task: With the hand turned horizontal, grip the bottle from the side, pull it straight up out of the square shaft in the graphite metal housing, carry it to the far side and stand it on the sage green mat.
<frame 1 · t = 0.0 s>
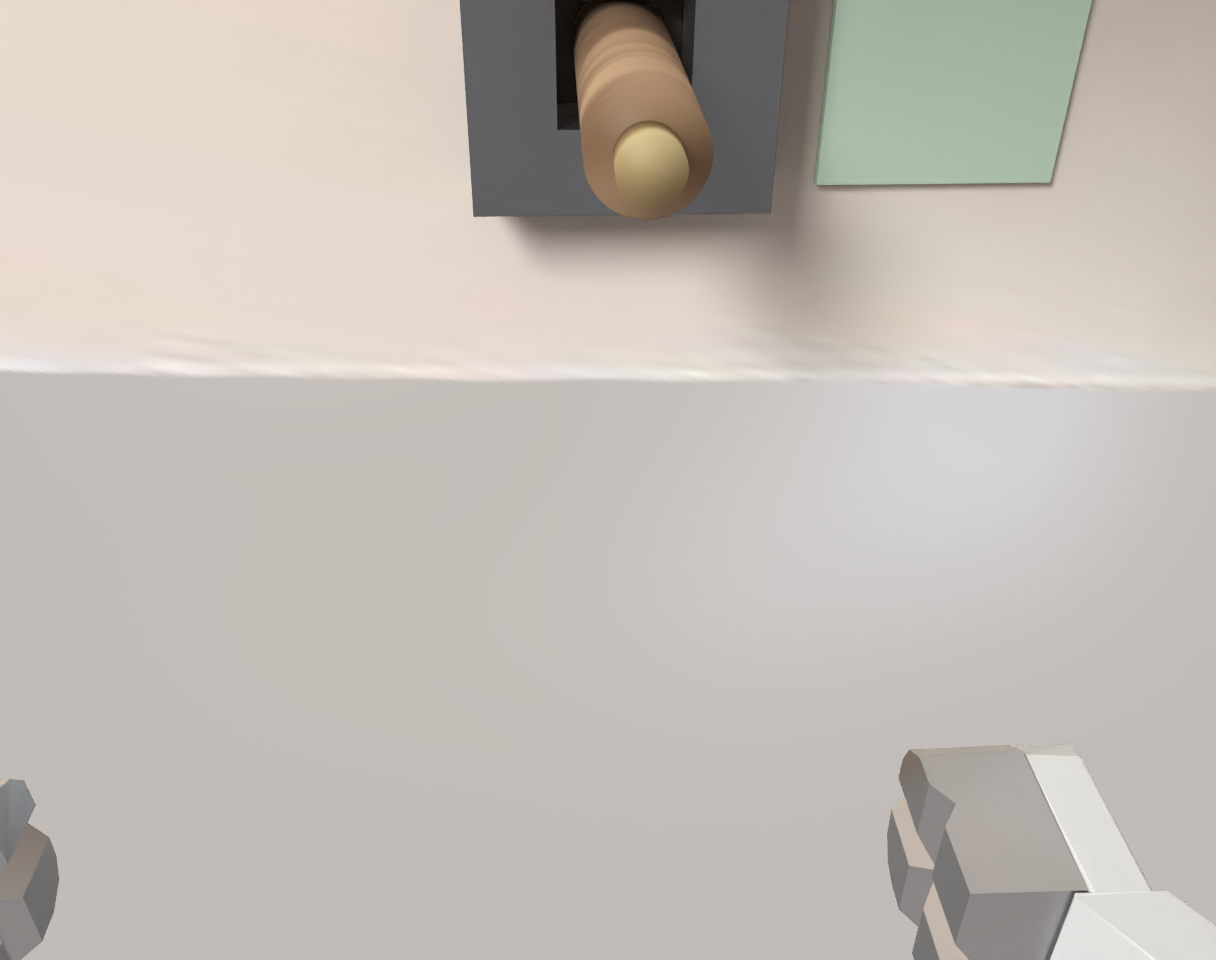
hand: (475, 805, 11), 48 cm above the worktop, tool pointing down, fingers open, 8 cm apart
mat: (954, 35, 53), on the worktop
housing: (619, 37, 52), on the worktop
bottle: (632, 92, 44), in the housing
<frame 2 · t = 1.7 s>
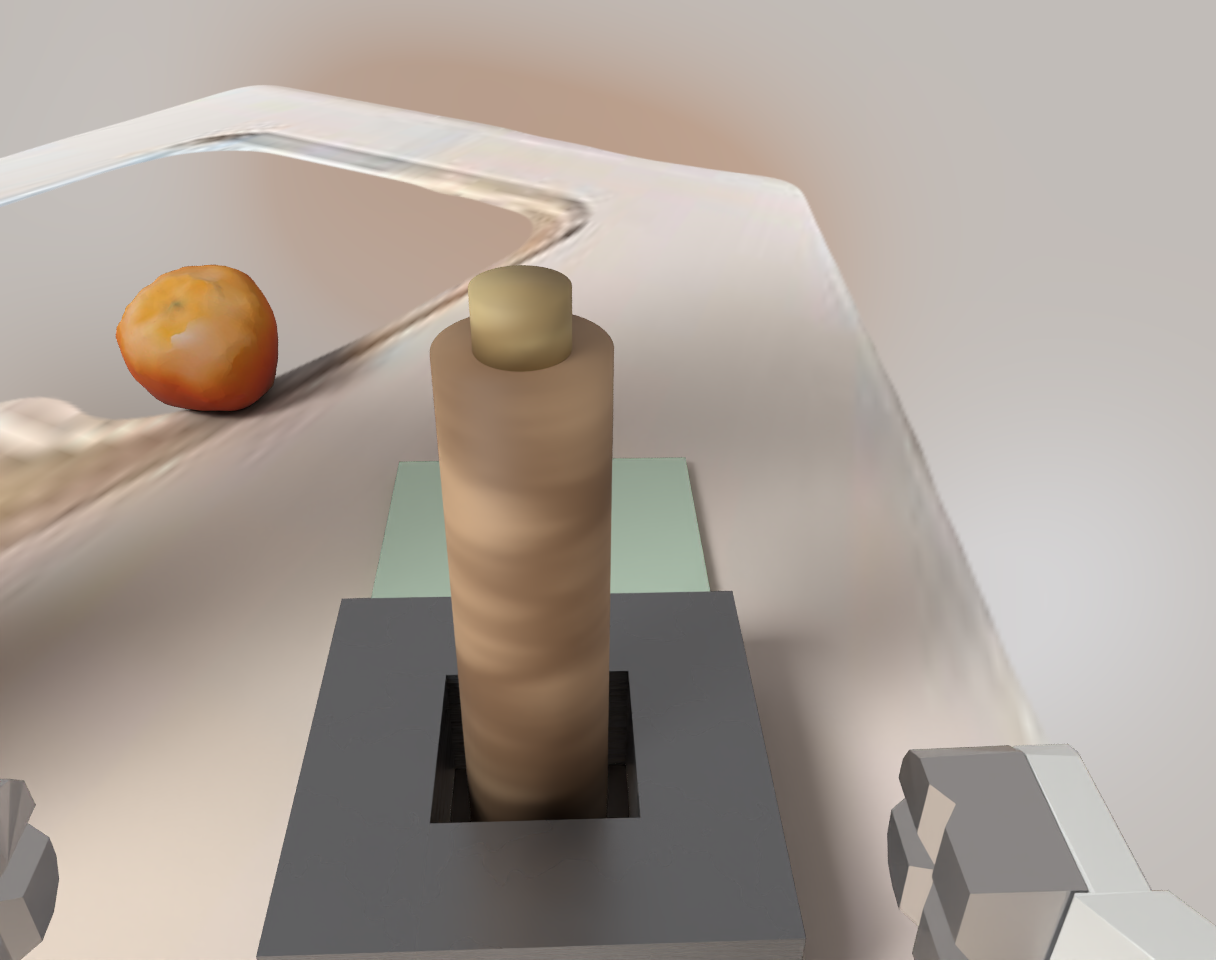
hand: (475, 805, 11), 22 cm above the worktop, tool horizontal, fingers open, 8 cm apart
mat: (542, 543, 50), on the worktop
housing: (540, 836, 37), on the worktop
bottle: (531, 609, 31), in the housing
fruit: (214, 398, 61), on the worktop
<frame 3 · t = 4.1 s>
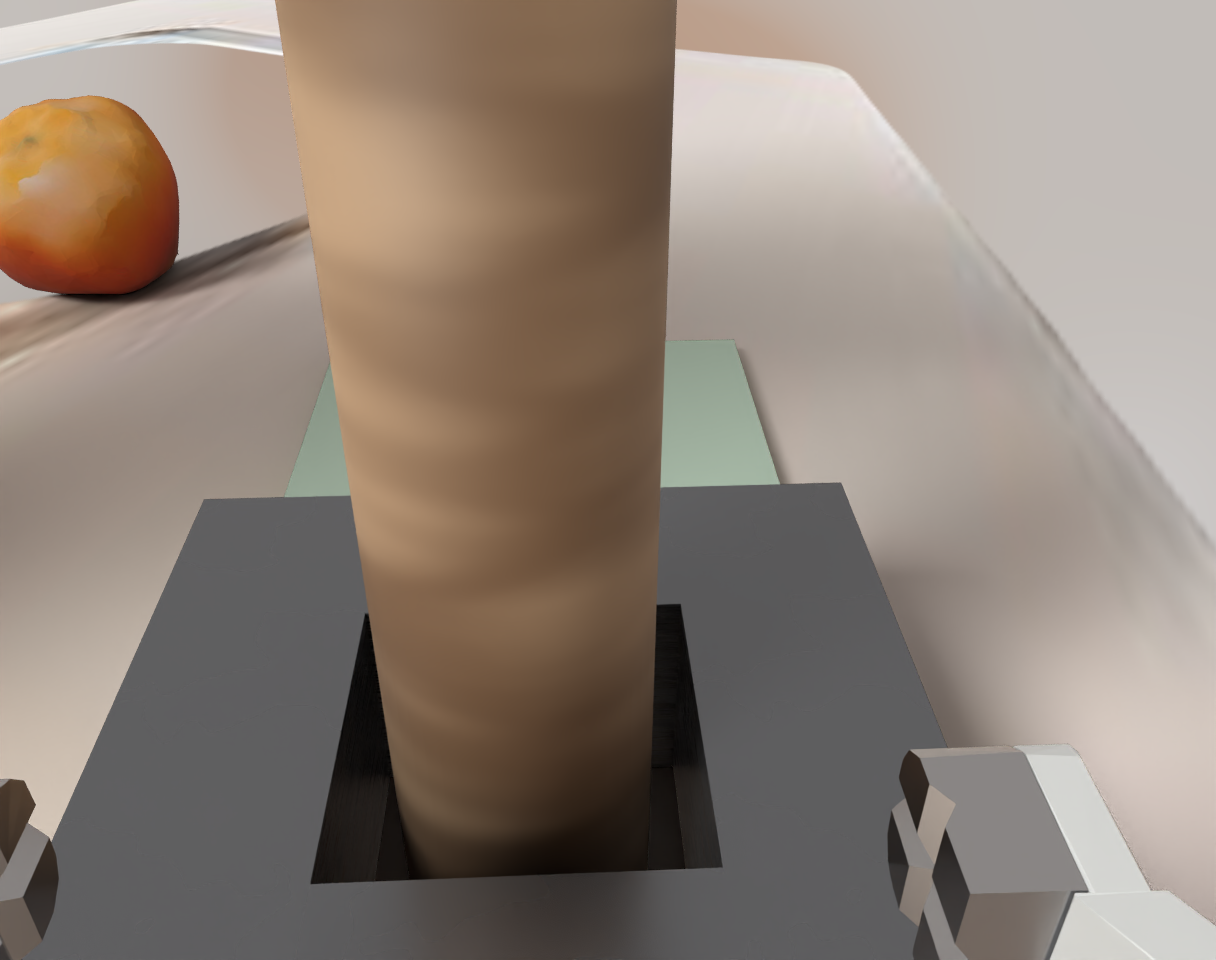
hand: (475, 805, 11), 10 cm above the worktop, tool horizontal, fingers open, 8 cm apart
mat: (535, 448, 35), on the worktop
housing: (531, 892, 21), on the worktop
bottle: (506, 459, 16), in the housing
fruit: (96, 283, 46), on the worktop
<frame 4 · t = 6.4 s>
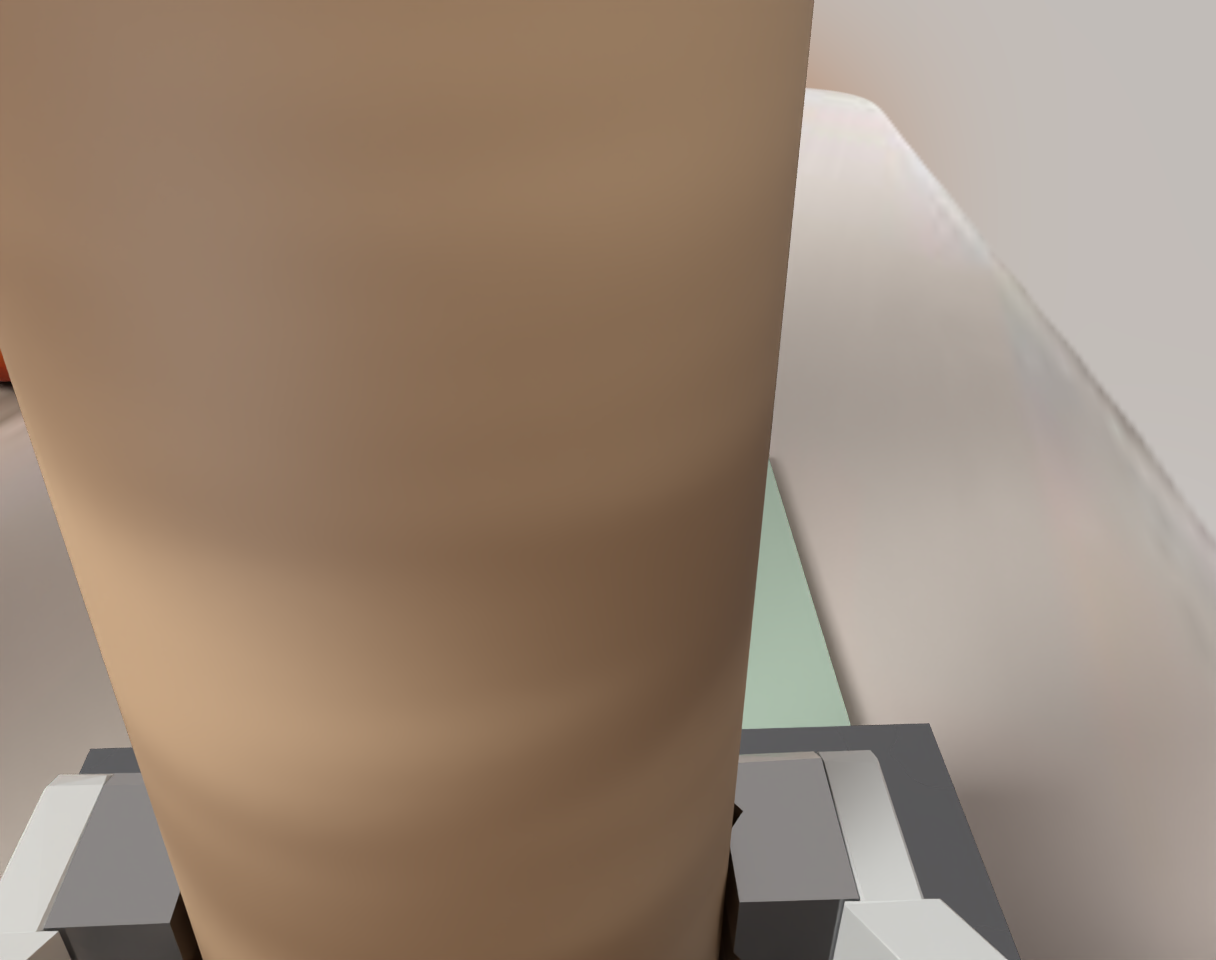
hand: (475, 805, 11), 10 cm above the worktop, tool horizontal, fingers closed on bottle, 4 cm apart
mat: (531, 598, 29), on the worktop
bottle: (473, 902, 10), in the housing, touching gripper
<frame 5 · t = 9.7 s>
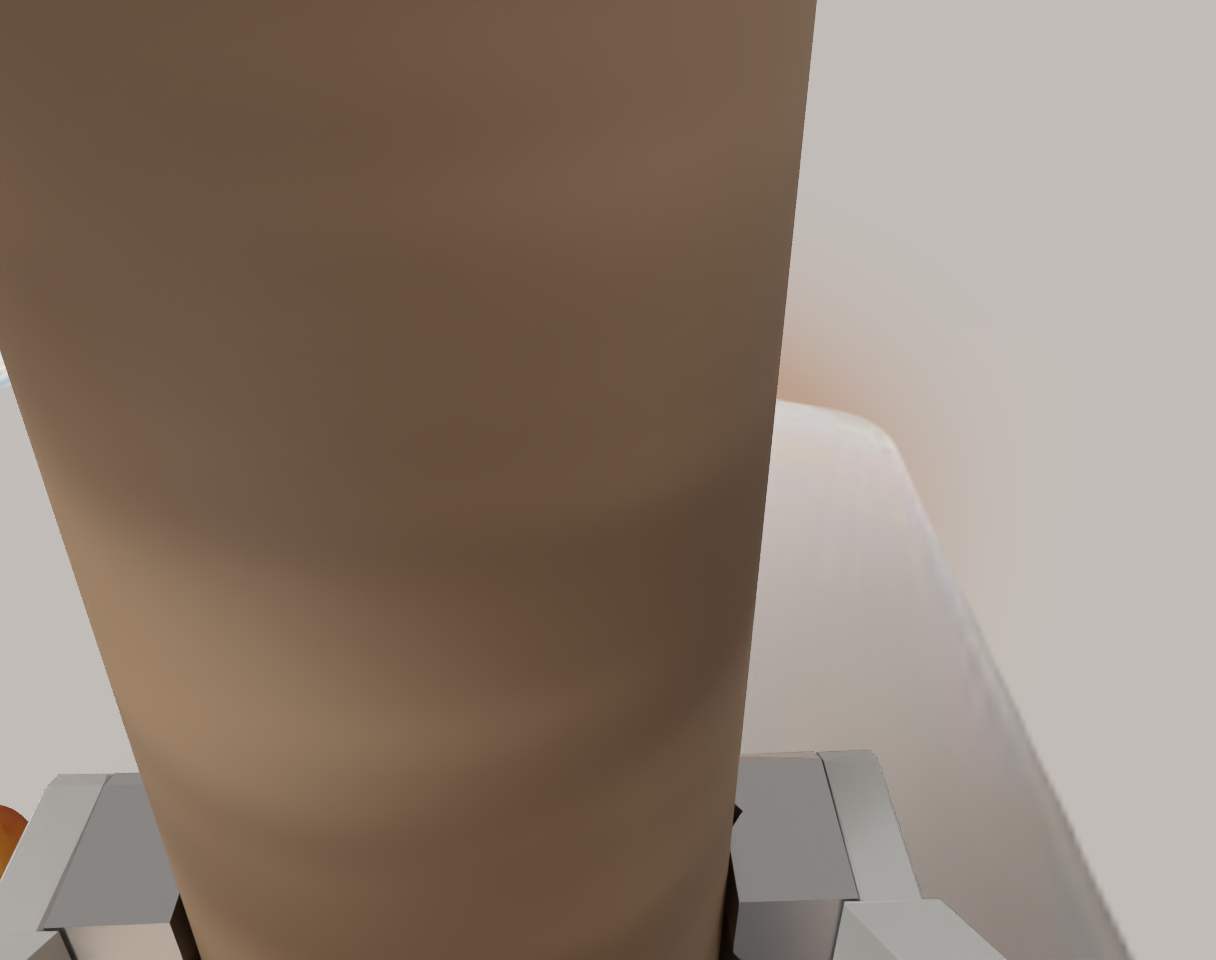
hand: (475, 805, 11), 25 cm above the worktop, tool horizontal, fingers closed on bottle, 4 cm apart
bottle: (472, 902, 10), point 25 cm above the worktop, touching gripper
when the fingers open (12 cm above the worktop, at t = 13.1 s): bottle drops 1 cm, resting on mat.
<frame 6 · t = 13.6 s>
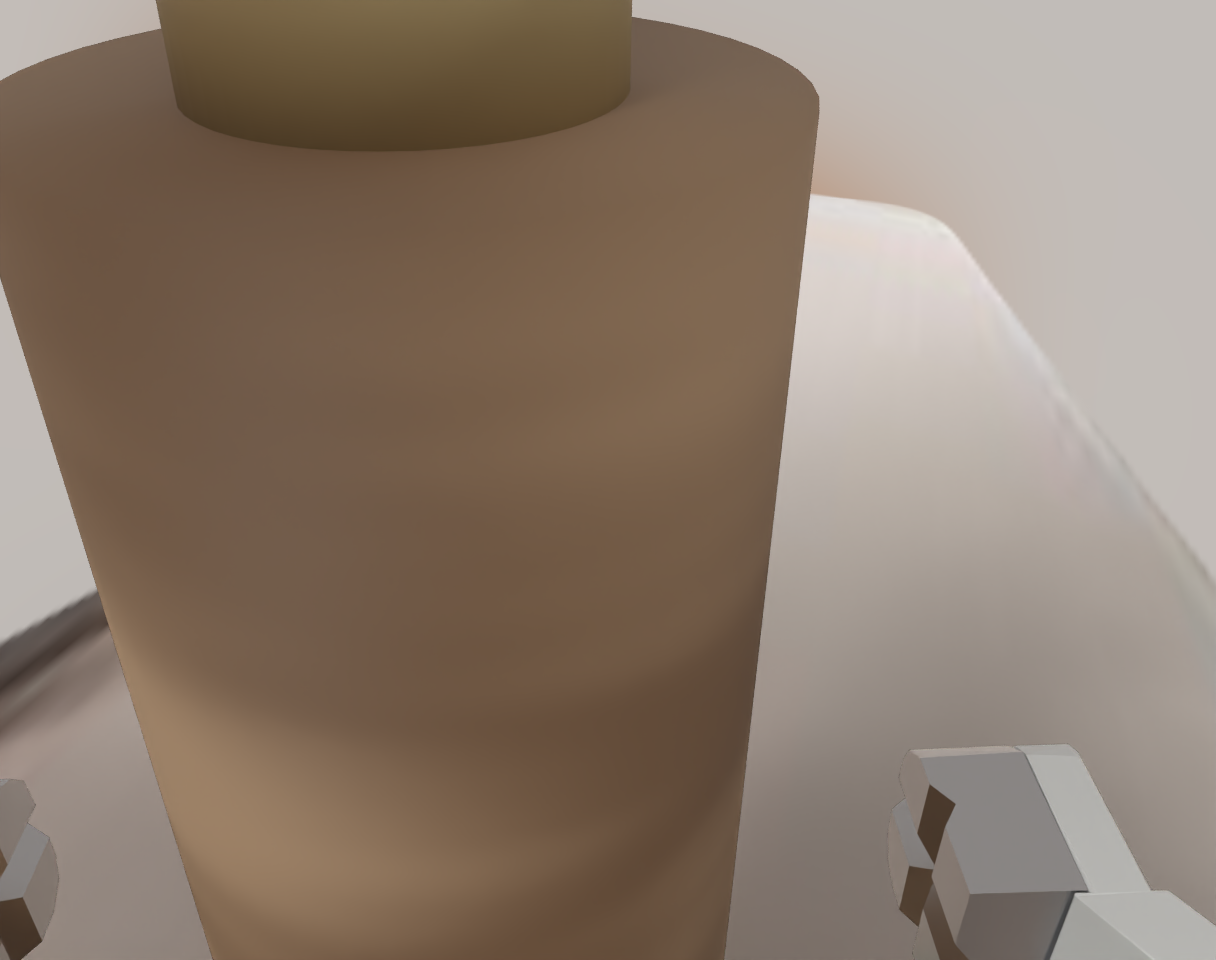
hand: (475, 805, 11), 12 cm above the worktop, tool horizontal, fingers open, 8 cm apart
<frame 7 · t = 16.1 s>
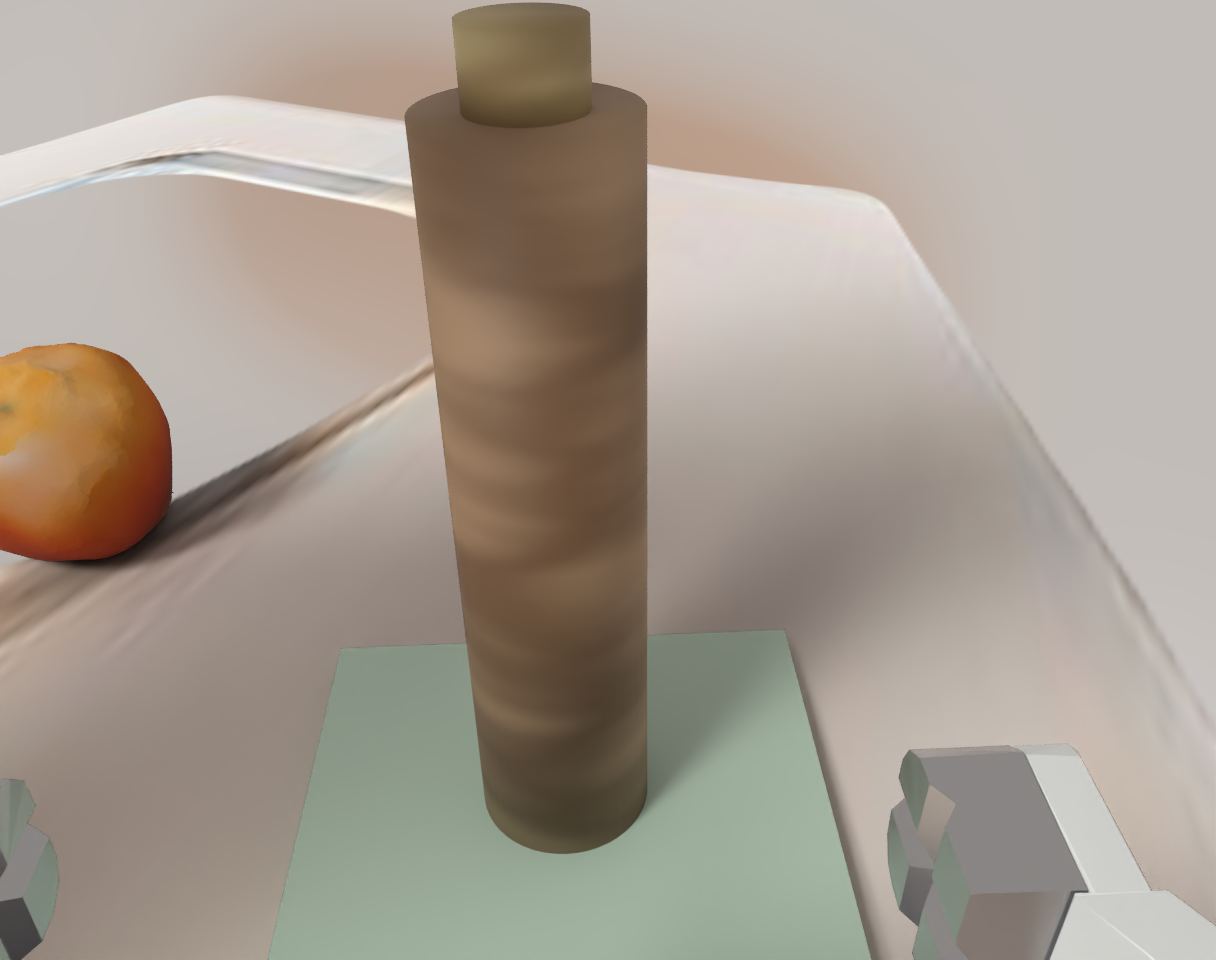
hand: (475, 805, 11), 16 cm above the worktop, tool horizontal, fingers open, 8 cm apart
mat: (566, 801, 31), on the worktop
bottle: (548, 484, 25), on the mat, point 10 cm above the worktop
fruit: (84, 534, 42), on the worktop
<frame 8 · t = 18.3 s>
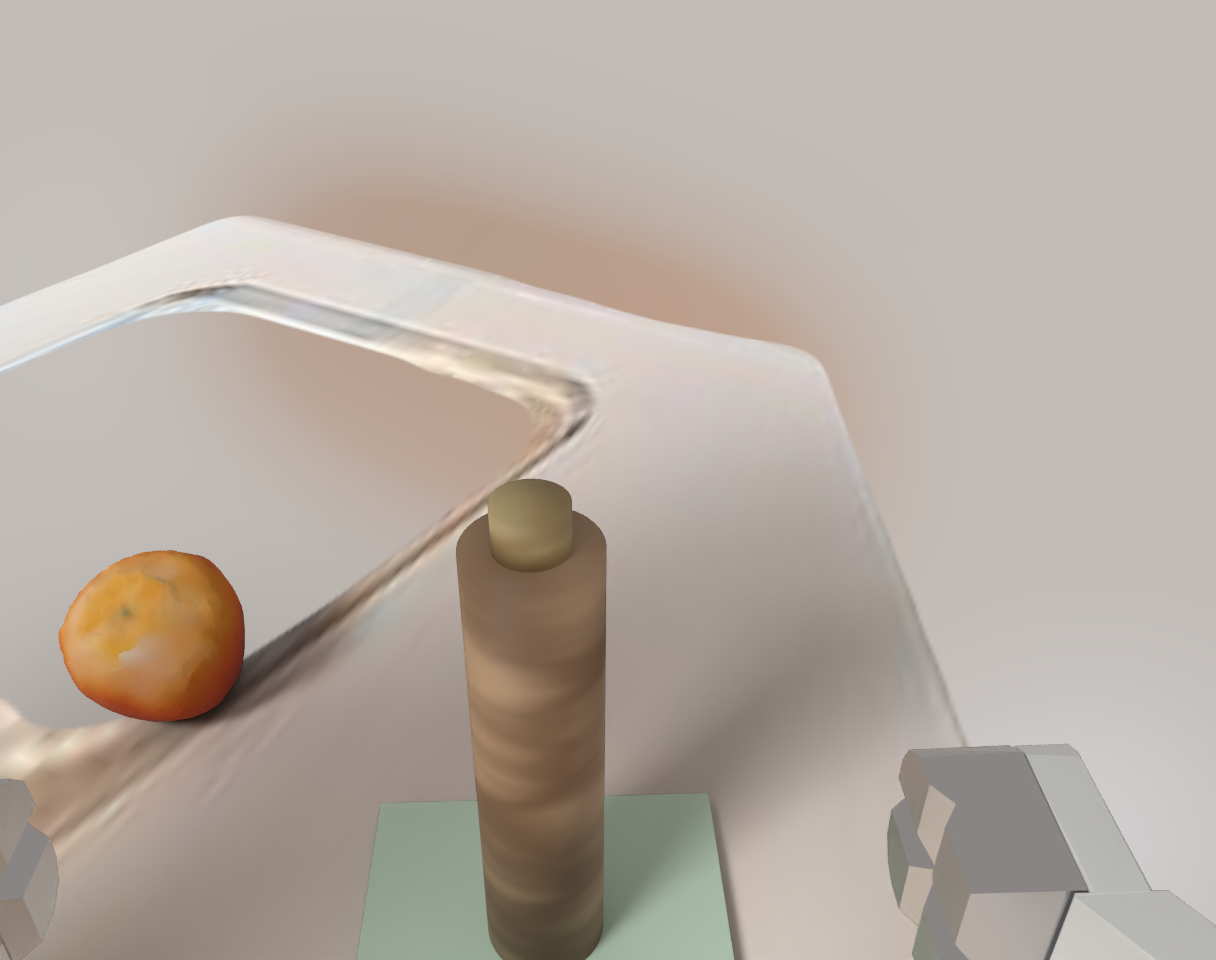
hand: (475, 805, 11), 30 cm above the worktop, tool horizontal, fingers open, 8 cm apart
mat: (545, 931, 43), on the worktop
bottle: (538, 742, 37), on the mat, point 10 cm above the worktop
fruit: (173, 691, 54), on the worktop
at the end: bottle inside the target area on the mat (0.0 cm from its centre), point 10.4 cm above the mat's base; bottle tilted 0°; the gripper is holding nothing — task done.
